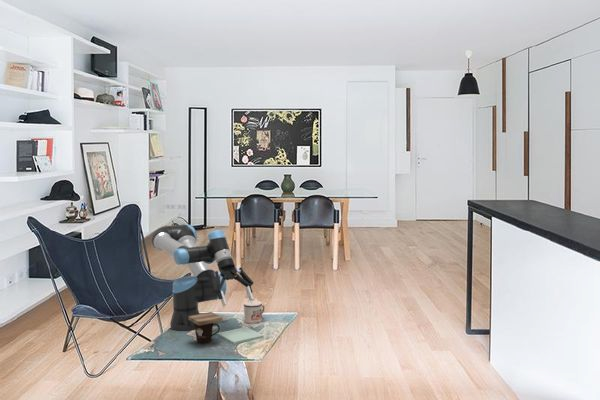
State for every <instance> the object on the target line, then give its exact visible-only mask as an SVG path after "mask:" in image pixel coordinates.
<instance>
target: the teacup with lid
mask: <svg viewBox="0 0 600 400" xmlns="http://www.w3.org/2000/svg"><path fill="white" fill-rule="evenodd" d="M243 309H244V310H243V315H244V317H243V318H244V322H245V323H247V324H258V323H257V322H259V323H261V322H262V321H263V314H264V313H265V309H266V306H265V305H264V304H263V303H262V302H261V301H260V300H257V299H256V298H255V297H253V300H252V301H249V300H246V301H245V302H244V303H243Z"/></svg>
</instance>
